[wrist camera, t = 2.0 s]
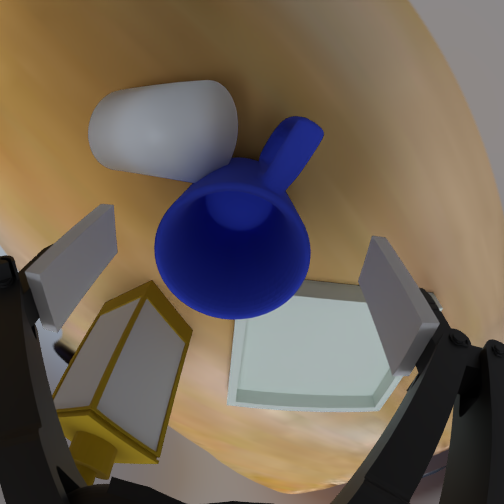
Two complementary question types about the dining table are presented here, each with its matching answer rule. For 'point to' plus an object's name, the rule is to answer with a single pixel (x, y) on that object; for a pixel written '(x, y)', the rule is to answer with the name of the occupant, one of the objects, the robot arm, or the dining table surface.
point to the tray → (312, 354)
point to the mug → (241, 231)
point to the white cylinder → (166, 130)
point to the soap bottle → (123, 383)
